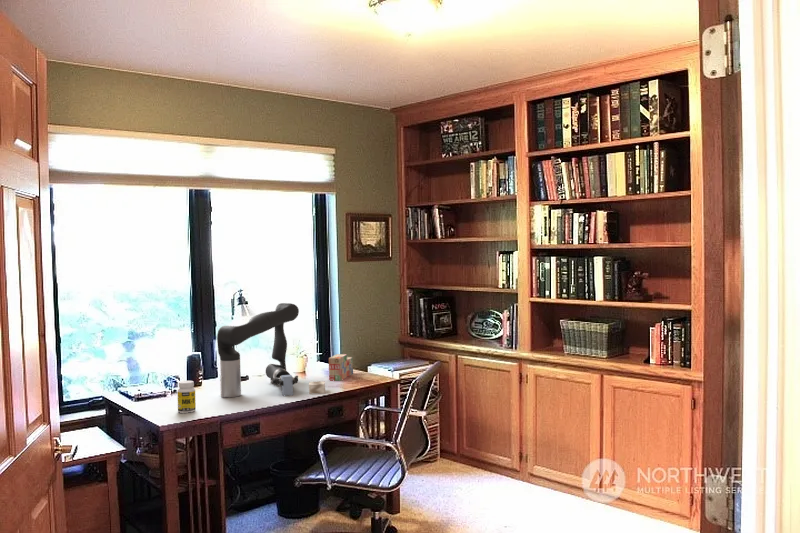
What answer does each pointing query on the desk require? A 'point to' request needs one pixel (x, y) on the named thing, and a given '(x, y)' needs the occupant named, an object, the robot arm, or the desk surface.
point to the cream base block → (317, 387)
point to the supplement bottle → (186, 397)
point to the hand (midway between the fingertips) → (288, 383)
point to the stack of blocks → (340, 367)
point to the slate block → (287, 385)
